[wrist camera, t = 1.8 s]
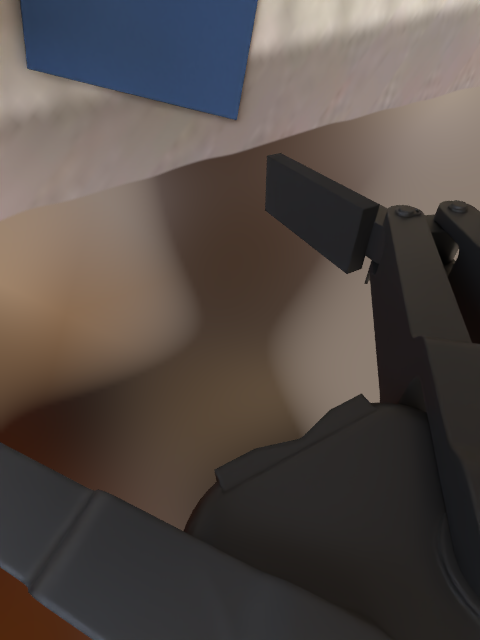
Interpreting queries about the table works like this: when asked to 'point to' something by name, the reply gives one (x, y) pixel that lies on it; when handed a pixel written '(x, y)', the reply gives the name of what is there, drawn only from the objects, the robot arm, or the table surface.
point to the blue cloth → (146, 47)
